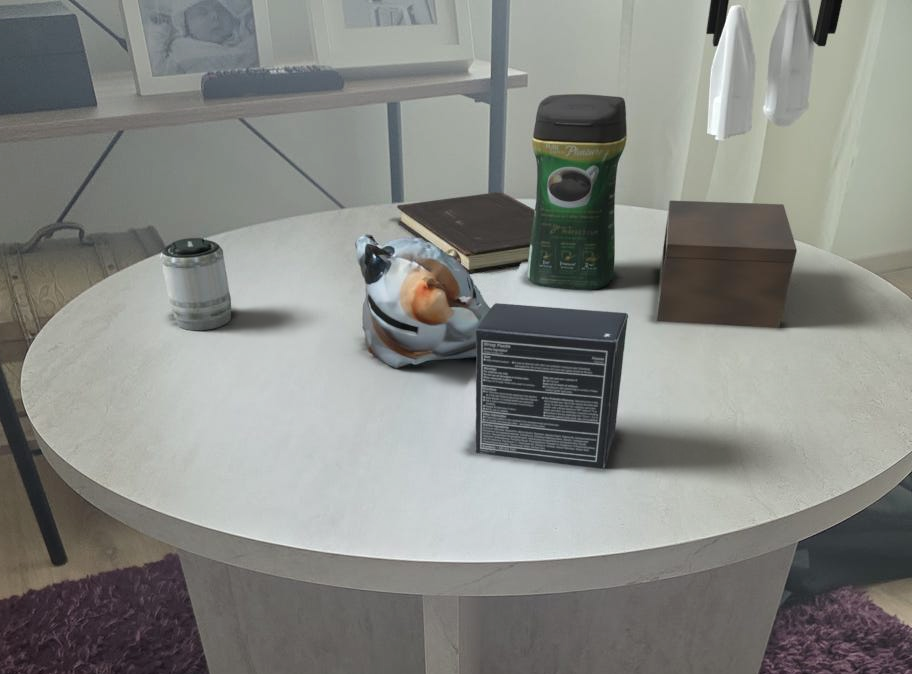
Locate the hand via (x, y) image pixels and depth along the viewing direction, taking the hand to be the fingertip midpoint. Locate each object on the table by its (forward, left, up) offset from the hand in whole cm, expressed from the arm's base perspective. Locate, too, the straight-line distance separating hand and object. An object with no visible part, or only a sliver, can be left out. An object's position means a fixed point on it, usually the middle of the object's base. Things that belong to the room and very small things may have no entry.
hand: (767, 43), depth 80 cm
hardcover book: (+28, -23, -24) cm, 44 cm away
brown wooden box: (0, -4, -24) cm, 24 cm away
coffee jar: (+16, -8, -24) cm, 30 cm away
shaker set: (0, 0, -7) cm, 7 cm away
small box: (+14, +32, -24) cm, 43 cm away
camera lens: (+53, +10, -24) cm, 59 cm away
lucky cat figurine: (+27, +15, -24) cm, 40 cm away
